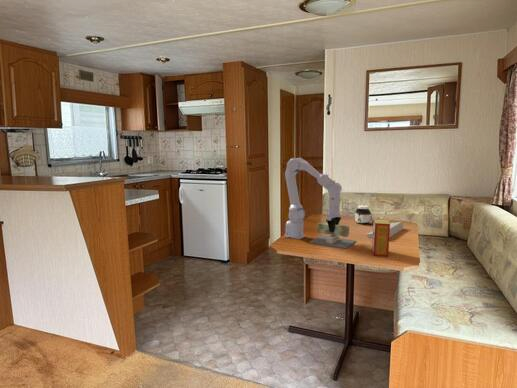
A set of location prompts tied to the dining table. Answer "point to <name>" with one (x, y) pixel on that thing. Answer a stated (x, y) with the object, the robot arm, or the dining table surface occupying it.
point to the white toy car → (363, 215)
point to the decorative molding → (393, 229)
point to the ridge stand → (333, 241)
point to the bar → (338, 231)
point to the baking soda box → (380, 237)
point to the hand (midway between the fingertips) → (333, 231)
